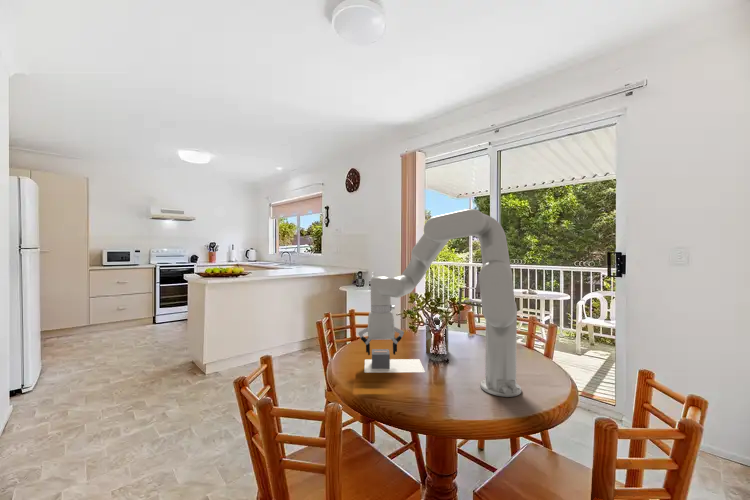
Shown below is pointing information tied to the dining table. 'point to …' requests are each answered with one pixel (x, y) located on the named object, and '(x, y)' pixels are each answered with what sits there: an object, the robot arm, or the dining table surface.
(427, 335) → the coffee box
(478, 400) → the dining table surface
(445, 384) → the dining table surface
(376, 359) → the dark grey box
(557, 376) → the dining table surface
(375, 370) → the hub board
